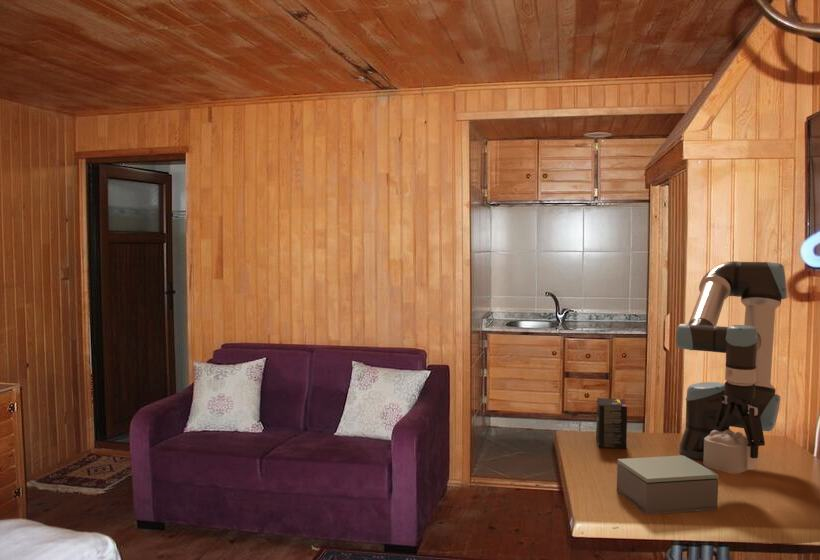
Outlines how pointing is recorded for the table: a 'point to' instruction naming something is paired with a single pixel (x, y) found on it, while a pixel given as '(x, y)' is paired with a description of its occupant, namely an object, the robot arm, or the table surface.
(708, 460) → the lumpy-topped squat cylinder
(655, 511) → the storage box
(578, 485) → the table surface
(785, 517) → the table surface
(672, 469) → the lid
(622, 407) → the tampon box
